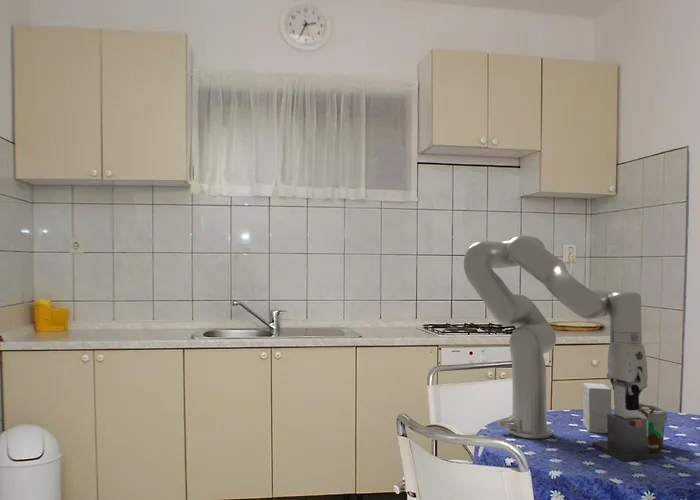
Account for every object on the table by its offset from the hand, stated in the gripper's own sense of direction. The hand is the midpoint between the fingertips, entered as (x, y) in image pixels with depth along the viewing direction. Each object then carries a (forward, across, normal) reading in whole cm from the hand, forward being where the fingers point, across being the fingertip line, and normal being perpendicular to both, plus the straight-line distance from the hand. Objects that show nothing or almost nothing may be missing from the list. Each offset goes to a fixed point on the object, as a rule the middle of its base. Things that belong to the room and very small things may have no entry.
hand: (626, 406), depth 149 cm
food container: (+12, +3, -11) cm, 16 cm away
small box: (+12, +20, -6) cm, 24 cm away
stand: (+12, 0, 0) cm, 12 cm away
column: (+10, 0, 0) cm, 10 cm away
